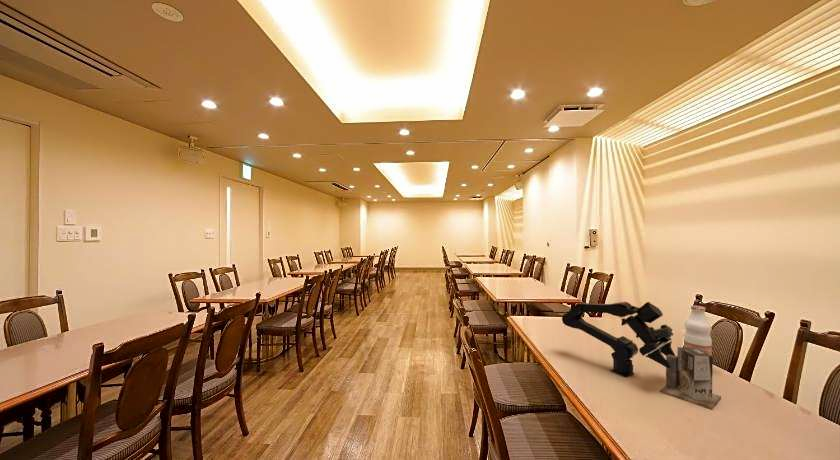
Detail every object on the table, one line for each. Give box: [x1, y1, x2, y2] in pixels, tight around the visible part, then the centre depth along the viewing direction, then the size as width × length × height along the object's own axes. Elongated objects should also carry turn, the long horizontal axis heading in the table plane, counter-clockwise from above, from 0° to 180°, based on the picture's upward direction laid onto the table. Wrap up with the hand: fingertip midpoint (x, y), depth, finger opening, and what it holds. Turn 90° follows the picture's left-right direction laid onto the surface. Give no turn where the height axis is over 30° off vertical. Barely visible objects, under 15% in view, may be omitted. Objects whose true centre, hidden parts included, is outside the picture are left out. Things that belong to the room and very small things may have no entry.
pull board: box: [659, 354, 722, 411], centre depth 120 cm, size 15×13×13 cm
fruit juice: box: [683, 305, 713, 356], centre depth 143 cm, size 9×9×28 cm
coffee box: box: [676, 346, 714, 401], centre depth 119 cm, size 9×6×16 cm
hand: (673, 364), depth 124 cm, fingers open, 9 cm apart
